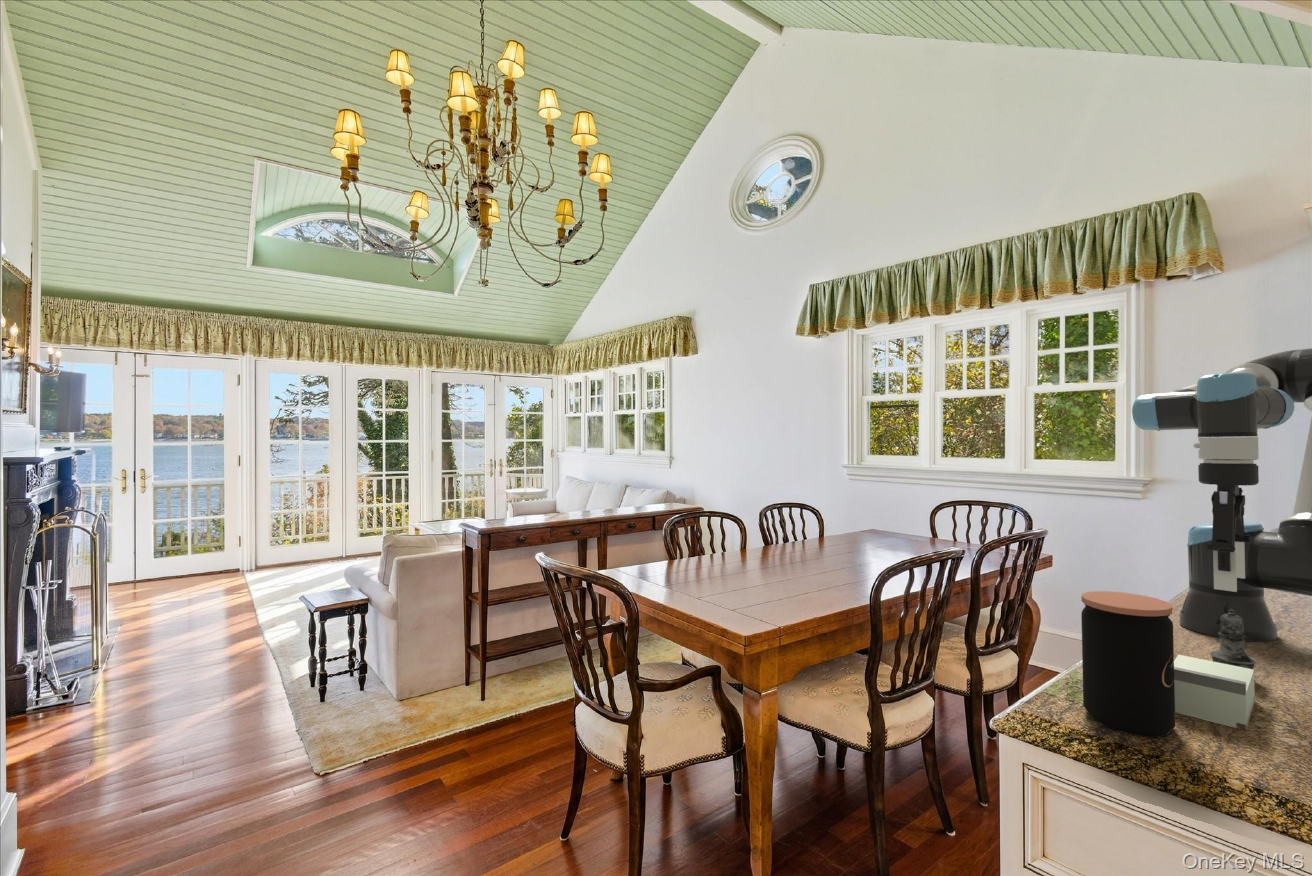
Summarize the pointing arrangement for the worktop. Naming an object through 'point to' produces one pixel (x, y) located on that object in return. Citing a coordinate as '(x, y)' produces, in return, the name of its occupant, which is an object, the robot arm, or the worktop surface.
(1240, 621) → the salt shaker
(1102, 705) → the coffee jar
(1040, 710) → the worktop surface
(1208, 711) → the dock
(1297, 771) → the worktop surface
